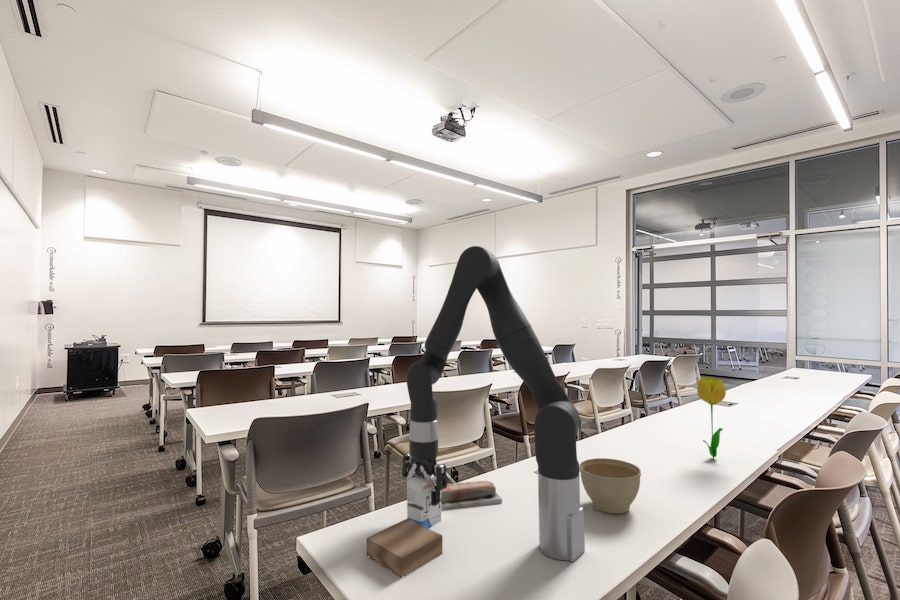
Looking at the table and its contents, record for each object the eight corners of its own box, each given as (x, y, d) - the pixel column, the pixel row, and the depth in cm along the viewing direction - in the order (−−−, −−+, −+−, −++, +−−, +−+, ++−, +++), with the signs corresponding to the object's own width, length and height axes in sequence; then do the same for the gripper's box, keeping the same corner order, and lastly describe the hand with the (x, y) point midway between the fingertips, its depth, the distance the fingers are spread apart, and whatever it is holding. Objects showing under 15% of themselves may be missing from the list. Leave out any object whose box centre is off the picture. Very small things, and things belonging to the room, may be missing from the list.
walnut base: (442, 553, 95) (442, 535, 95) (401, 578, 86) (401, 558, 86) (406, 535, 103) (406, 518, 103) (366, 556, 94) (366, 537, 94)
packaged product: (441, 494, 116) (434, 480, 126) (441, 512, 116) (434, 497, 126) (502, 487, 121) (491, 475, 130) (503, 504, 120) (491, 491, 130)
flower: (705, 461, 152) (702, 378, 154) (696, 454, 160) (693, 375, 162) (731, 463, 151) (728, 378, 152) (721, 455, 159) (718, 375, 160)
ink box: (421, 533, 104) (420, 485, 104) (406, 527, 107) (406, 480, 107) (442, 520, 111) (442, 474, 111) (428, 514, 114) (427, 470, 114)
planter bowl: (612, 491, 128) (611, 455, 128) (655, 514, 113) (654, 472, 113) (568, 500, 122) (567, 461, 122) (607, 525, 107) (606, 481, 107)
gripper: (453, 439, 108) (453, 503, 107) (415, 428, 117) (415, 487, 117) (433, 445, 102) (432, 513, 102) (395, 434, 112) (394, 496, 111)
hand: (423, 499), depth 109 cm, fingers open, 8 cm apart
